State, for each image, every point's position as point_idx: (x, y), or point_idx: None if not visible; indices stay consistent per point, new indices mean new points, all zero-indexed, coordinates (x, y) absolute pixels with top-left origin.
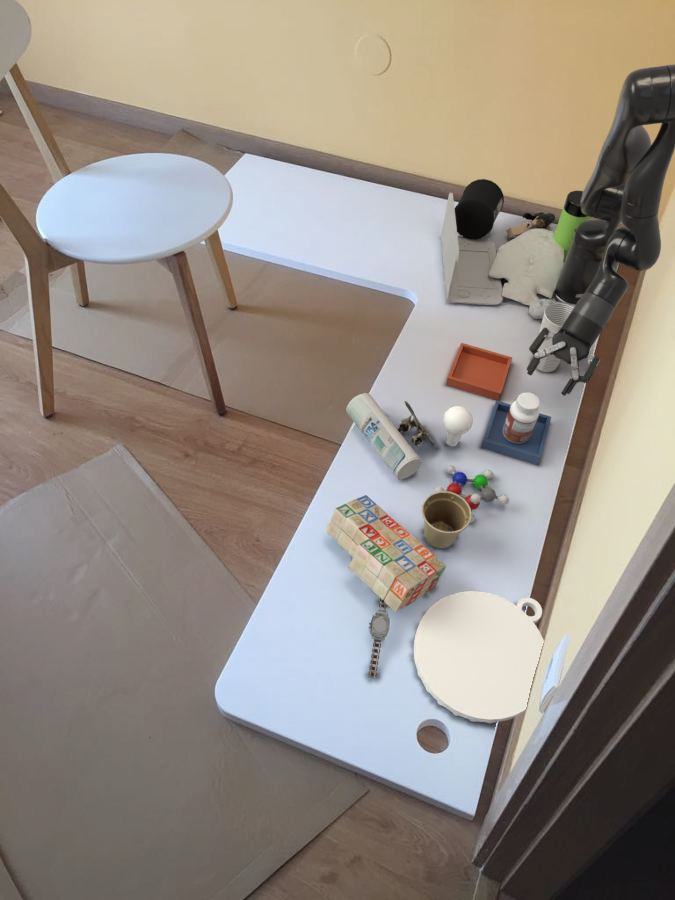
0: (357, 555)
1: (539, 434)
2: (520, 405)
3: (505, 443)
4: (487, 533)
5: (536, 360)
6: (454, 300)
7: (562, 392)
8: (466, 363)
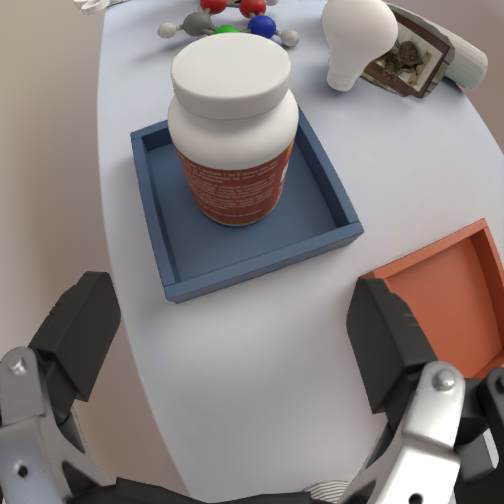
0: None
1: (175, 233)
2: (247, 35)
3: None
4: (171, 21)
5: (412, 352)
6: None
7: (97, 272)
8: (483, 325)
